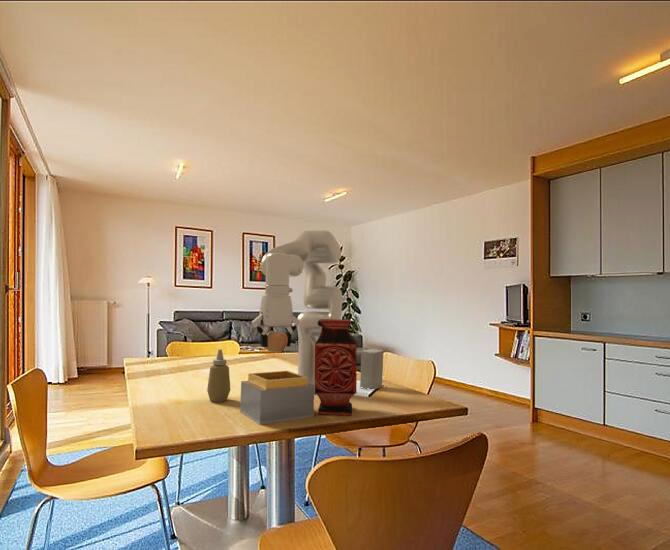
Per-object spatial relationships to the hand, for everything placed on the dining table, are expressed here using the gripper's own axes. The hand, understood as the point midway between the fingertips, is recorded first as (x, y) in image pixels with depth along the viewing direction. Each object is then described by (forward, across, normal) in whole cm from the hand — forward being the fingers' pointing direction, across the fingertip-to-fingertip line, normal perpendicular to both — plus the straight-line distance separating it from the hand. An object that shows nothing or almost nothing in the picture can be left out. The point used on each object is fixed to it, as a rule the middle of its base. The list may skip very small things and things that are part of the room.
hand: (275, 346), depth 144 cm
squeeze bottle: (+22, +10, -26) cm, 36 cm away
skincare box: (+22, -53, -20) cm, 61 cm away
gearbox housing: (+21, 0, +1) cm, 21 cm away
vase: (+22, -20, +5) cm, 30 cm away
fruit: (+2, 0, 0) cm, 2 cm away
